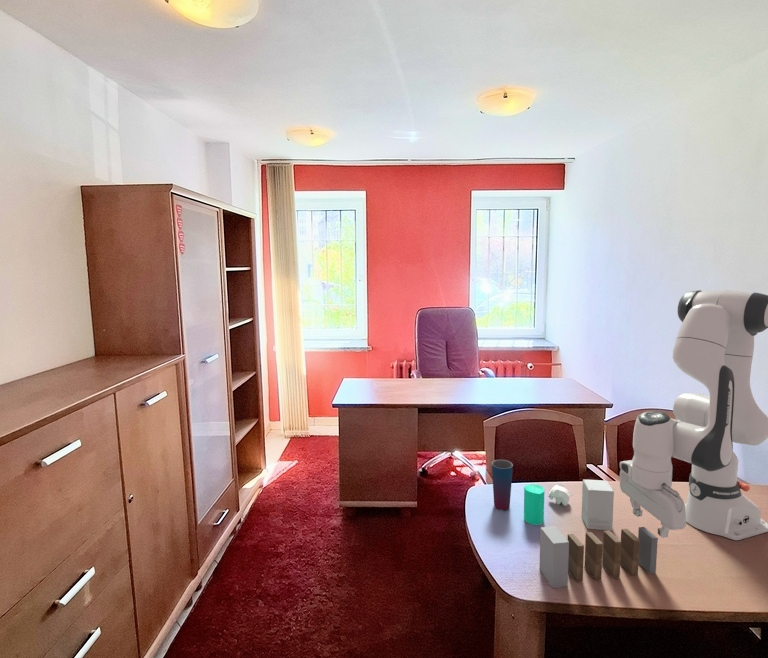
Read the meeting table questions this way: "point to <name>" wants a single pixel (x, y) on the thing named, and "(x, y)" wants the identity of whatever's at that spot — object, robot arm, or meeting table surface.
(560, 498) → the elephant figurine
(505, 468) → the cup
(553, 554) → the end block
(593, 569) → the domino
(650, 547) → the gray domino
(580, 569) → the domino
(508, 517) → the meeting table surface
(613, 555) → the domino
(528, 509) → the candle
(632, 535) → the domino
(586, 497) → the supplement box
